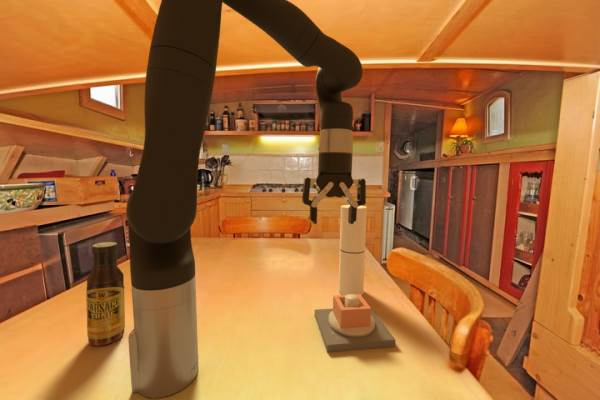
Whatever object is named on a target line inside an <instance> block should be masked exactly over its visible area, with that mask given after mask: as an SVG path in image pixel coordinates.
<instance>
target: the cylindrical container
mask: <svg viewBox="0 0 600 400" xmlns="http://www.w3.org/2000/svg"><path fill="white" fill-rule="evenodd" d="M349 207H350V205H349V204H345V205H341V206H340V225H339V226H340V227H339V255H338V256H339V257H338V258H339V261H338V264H339V266H338V293H339V295H348V294H360V295H361V296H362V295H363V294H364V284H365V283H364V282H365V262H366V261H365V257H366V236H367V235H366V234H367V230H366V229H367V215H368V214H367V213H368V212H367V211H368V210H367V209H368V207H367V206H365V205H361V206H358V207H357V217H356V221H355V222H354V224H349V223H348V212H349Z"/></svg>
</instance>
